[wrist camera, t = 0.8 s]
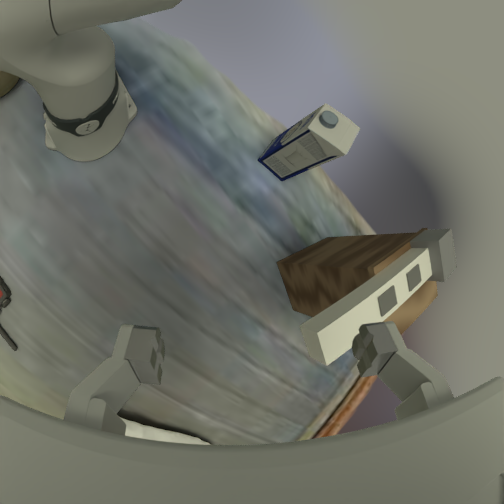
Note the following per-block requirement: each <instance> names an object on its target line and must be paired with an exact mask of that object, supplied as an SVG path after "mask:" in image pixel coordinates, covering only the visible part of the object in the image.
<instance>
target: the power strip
mask: <svg viewBox="0 0 504 504" xmlns="http://www.w3.org/2000/svg"><path fill="white" fill-rule="evenodd" d="M410 245H411V249H409V250H408V251H407V252H405V253H404V254H403V255H402V256H400V257H399V258H398V259H396V260H395V261H394V262H392V263H391V264H390V265H388V266H387V267H386V268H384V269H383V270H382V271H380V272H379V273H378V274H376V275H375V276H373V277H372V278H371V279H369V280H368V281H366V282H365V283H364V284H362V285H361V286H359V287H358V288H356V289H355V290H354V291H352V292H351V293H349V294H348V295H346V296H345V297H343V298H342V299H340V300H339V301H337V302H336V303H334V304H333V305H331V306H330V307H328V308H327V309H325V310H324V311H322V312H320V313H319V314H317V315H316V316H314V317H313V318H311V319H309V320H308V321H306V322H305V323H303V324H301V325H300V329H301V332H302V335H303V338H304V341H305V344H306V347H307V350H308V353H309V356H310V357H311V358H313V359H315V360H317V361H319V362H321V363H323V364H325V365H326V366H327V365H329V364H330V363H331V362H333V361H334V360H335V359H337V358H338V357H339V356H341V355H342V354H343V353H345V352H346V351H347V350H349V349H350V348H351V347H352V342H353V339H354V337H355V336H356V335H357V334H359V330H358V329H359V328H360V326H361V325H362V324H368V323H377V322H383V321H384V320H385V319H386V318H387V317H389V316H390V315H391V314H392V313H393V312H394V311H395V310H396V309H398V308H399V307H400V306H401V305H402V304H403V303H404V302H405V301H406V300H407V299H408V298H409V297H410V296H411V295H412V294H413V293H414V292H415V291H417V290H418V289H419V288H420V287H421V286H422V285H423V284H424V283H425V282H426V280H427V281H439V282H445V281H446V279H447V278H448V277H449V276H450V275H451V273H452V272H453V271H454V270H455V268H456V267H457V266H456V257H455V250H454V243H453V236H452V231H451V229H435V230H424V231H423V232H422V233H420V234H419V235H418V236H416V237H415V238H414V239H412V240H411V241H410Z"/></svg>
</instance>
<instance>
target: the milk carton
mask: <svg viewBox="0 0 504 504" xmlns="http://www.w3.org/2000/svg"><path fill="white" fill-rule="evenodd" d="M359 131H360V128H359V127H358V126H356V125H355V124H354V123H353V122H352V121H351V120H350V119H348V118H347V117H345V116H344V115H343V114H341V113H340V112H338V111H337V110H335V109H334V108H332V107H331V106H329V105H328V104H324V105H323V106H321V107H320V108H318V109H317V110H315V111H314V112H312V113H311V114H309V115H308V116H306V117H305V118H303V119H302V120H300V121H299V122H298V123H296V124H295V125H293V126H292V127H291V128H289V129H287V130H286V131H285V132H283V133H282V134H280V135H279V136H278V137H276V138H275V139H274V140H273V141H272V142H271V144H270V145H269V146H268V147H267V149H266V150H265V151H264V153H263V154H262V155H261V156H260V158H259V159H258V161H259V162H260V163H262V164H263V165H264V166H265V167H266V168H267V169H269V170H270V171H271V172H272V173H273V174H274V175H275V176H276V177H278V178H279V179H280V180H281V181H284V180H286V179H288V178H291V177H293V176H295V175H298V174H300V173H302V172H305V171H307V170H309V169H312V168H314V167H317V166H319V165H321V164H324V163H326V162H329V161H331V160H334V159H336V158H339V157H341V156H344V155H346V154H347V153H348V151H349V149H350V147H351V145H352V143H353V142H354V140H355V138H356V136H357V134H358V132H359Z"/></svg>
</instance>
